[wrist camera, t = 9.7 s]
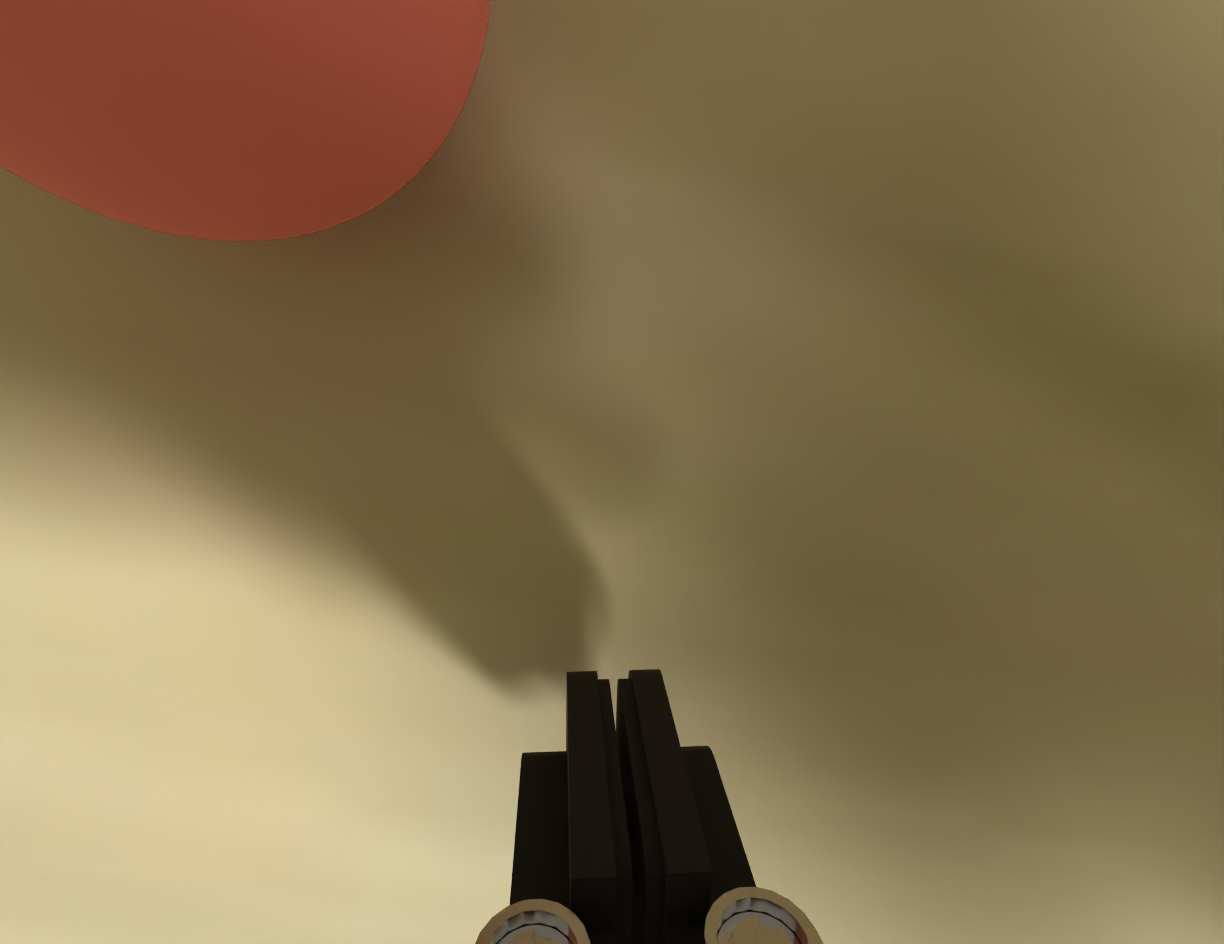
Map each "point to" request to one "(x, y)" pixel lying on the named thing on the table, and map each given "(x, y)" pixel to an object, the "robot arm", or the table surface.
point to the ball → (232, 106)
